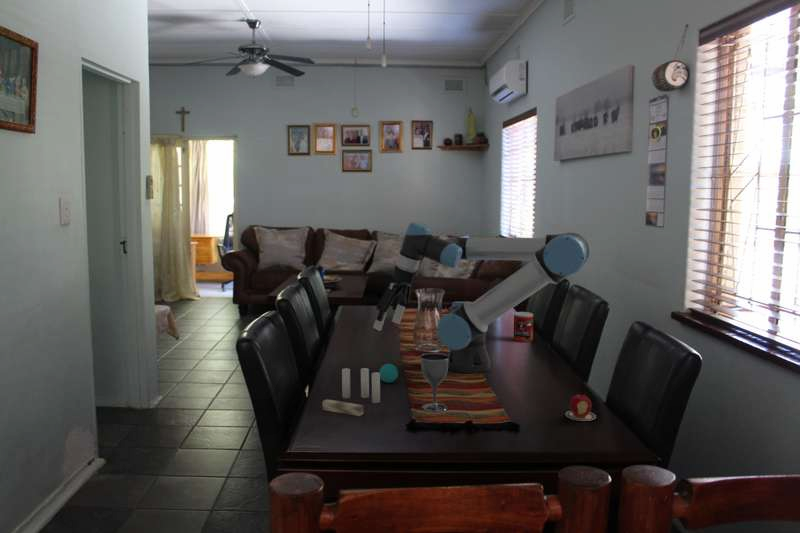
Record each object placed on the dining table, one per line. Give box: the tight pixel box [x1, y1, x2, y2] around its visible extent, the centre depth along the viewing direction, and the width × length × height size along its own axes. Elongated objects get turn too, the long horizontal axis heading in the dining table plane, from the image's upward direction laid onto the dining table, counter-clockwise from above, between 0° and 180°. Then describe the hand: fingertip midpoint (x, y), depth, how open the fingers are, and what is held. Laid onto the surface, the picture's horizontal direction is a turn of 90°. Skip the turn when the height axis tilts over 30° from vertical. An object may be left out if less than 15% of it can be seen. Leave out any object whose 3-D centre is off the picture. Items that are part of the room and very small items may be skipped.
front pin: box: [360, 367, 370, 399], centre depth 194 cm, size 2×2×8 cm
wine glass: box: [420, 352, 449, 413], centre depth 184 cm, size 8×8×15 cm
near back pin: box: [371, 371, 381, 404], centre depth 190 cm, size 2×2×8 cm
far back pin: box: [341, 367, 351, 399], centre depth 194 cm, size 2×2×8 cm
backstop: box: [322, 399, 364, 417], centre depth 182 cm, size 12×2×2 cm, turn 65°
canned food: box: [513, 311, 534, 343], centre depth 264 cm, size 8×8×11 cm
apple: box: [565, 393, 597, 422], centre depth 177 cm, size 8×8×6 cm
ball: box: [378, 363, 399, 383], centre depth 209 cm, size 6×6×6 cm
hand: (386, 325), depth 221 cm, fingers open, 13 cm apart
